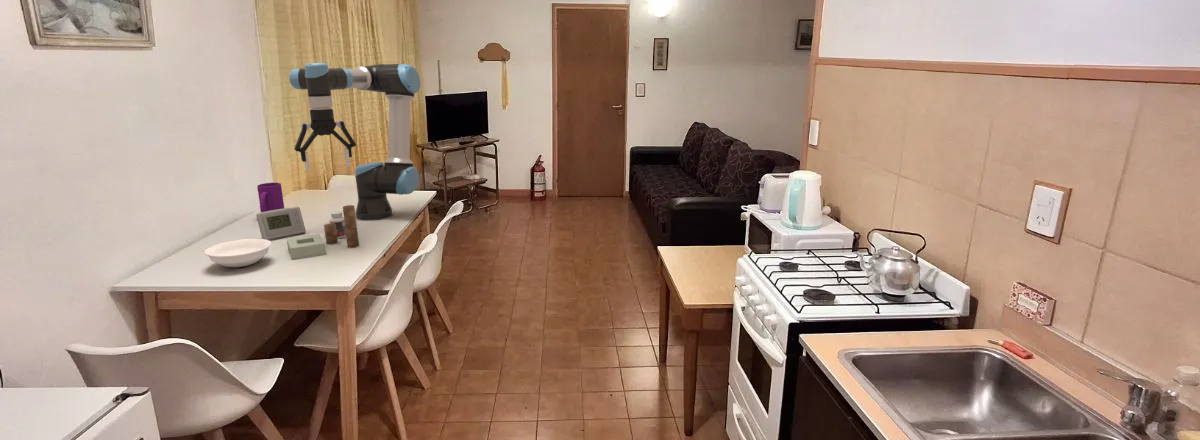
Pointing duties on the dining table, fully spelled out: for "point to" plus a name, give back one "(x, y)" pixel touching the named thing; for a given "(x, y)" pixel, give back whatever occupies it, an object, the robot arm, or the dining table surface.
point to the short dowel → (330, 233)
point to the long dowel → (350, 226)
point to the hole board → (306, 246)
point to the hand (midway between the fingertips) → (328, 168)
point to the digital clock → (280, 223)
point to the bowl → (238, 252)
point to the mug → (270, 196)
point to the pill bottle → (338, 223)
